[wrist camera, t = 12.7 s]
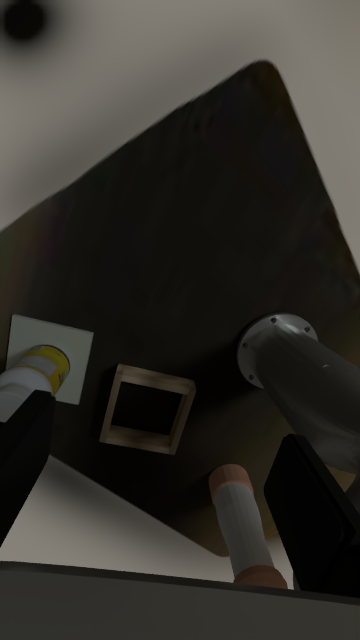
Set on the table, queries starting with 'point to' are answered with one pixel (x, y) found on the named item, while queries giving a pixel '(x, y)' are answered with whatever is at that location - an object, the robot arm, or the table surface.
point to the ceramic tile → (66, 338)
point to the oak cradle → (145, 438)
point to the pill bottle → (32, 377)
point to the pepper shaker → (242, 527)
